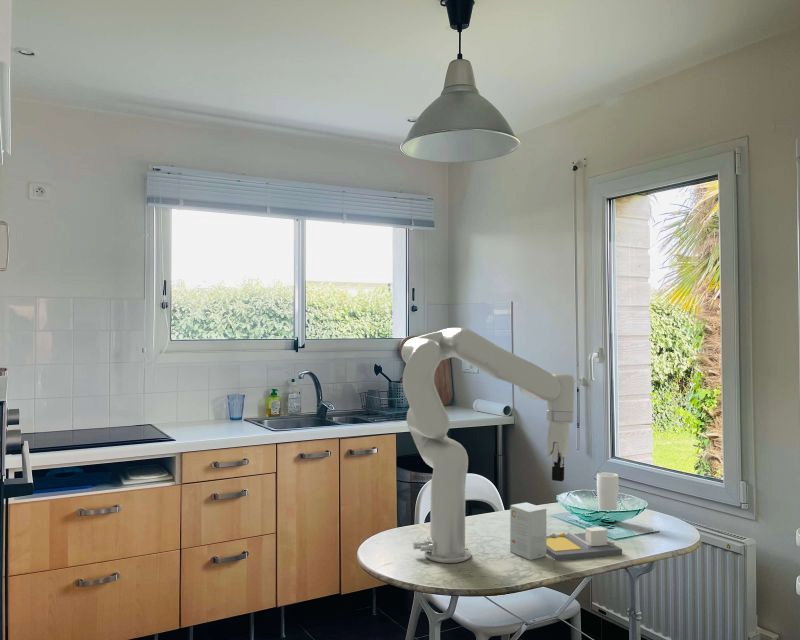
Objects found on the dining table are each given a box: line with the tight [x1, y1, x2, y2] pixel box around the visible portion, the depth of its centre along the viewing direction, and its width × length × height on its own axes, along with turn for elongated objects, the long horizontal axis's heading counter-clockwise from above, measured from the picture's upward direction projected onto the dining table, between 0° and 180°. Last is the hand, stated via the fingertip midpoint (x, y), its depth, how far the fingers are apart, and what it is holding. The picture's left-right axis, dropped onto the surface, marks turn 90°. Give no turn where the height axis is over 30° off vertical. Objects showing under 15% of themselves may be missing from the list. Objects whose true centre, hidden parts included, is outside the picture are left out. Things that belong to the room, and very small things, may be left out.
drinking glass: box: [596, 471, 620, 511], centre depth 213 cm, size 7×7×15 cm
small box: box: [509, 501, 548, 561], centre depth 182 cm, size 8×6×13 cm
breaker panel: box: [546, 531, 623, 561], centre depth 187 cm, size 20×15×2 cm
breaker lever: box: [585, 526, 608, 546], centre depth 186 cm, size 5×3×4 cm, turn 104°
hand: (557, 480), depth 191 cm, fingers closed
